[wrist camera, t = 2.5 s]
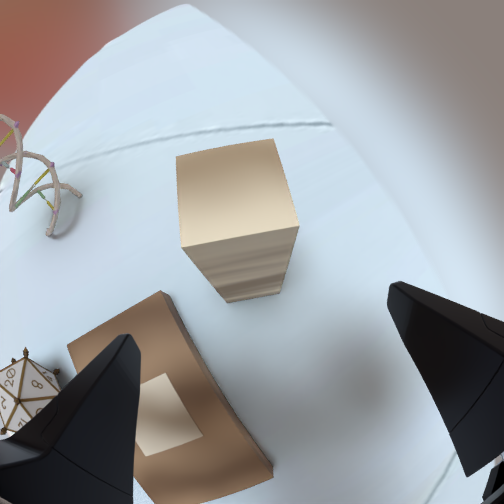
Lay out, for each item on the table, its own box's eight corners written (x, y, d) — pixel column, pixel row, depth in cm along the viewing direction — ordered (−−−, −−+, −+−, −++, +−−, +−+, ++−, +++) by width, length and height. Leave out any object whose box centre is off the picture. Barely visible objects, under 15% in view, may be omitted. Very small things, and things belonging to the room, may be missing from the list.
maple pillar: (279, 293, 20) (299, 225, 9) (227, 303, 20) (181, 247, 9) (269, 244, 22) (273, 138, 10) (219, 253, 22) (175, 156, 10)
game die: (66, 385, 21) (-10, 338, 15) (103, 375, 19) (7, 313, 13) (57, 458, 14) (-31, 416, 8) (95, 470, 12) (-25, 420, 6)
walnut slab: (272, 466, 16) (273, 478, 14) (169, 501, 14) (161, 512, 12) (169, 295, 20) (159, 290, 19) (80, 346, 19) (65, 344, 17)
